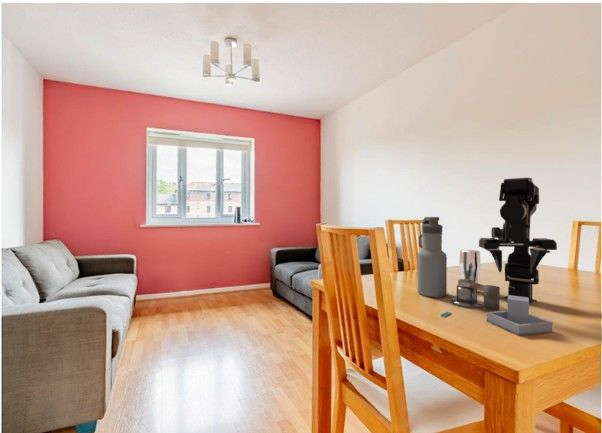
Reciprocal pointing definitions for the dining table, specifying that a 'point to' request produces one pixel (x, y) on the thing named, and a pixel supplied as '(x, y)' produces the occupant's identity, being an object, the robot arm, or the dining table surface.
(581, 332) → the dining table surface
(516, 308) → the block
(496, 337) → the dining table surface
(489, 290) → the crank arm
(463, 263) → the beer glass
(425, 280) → the water bottle
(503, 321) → the tray
